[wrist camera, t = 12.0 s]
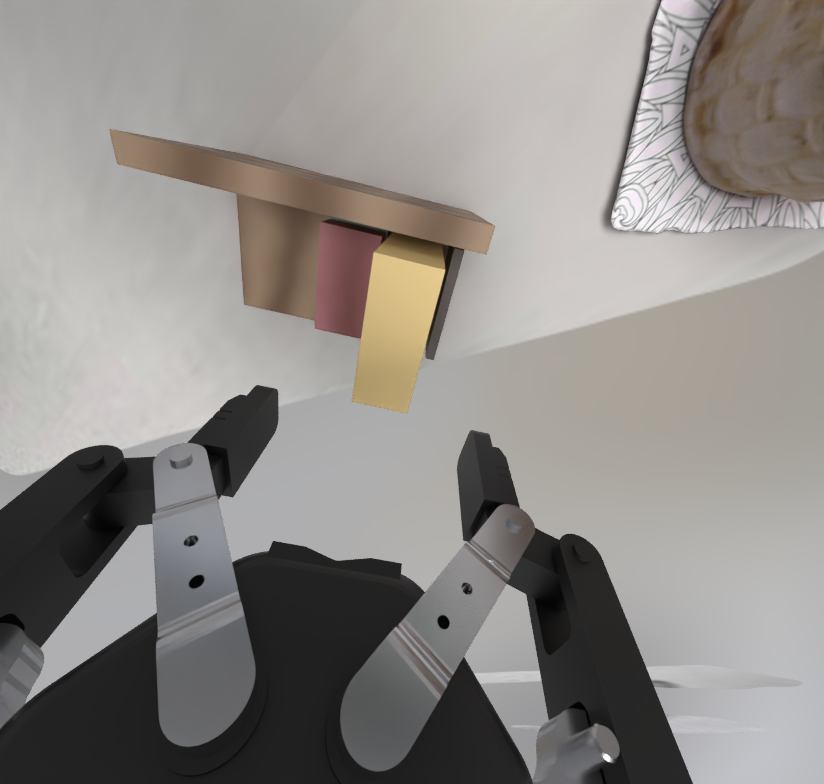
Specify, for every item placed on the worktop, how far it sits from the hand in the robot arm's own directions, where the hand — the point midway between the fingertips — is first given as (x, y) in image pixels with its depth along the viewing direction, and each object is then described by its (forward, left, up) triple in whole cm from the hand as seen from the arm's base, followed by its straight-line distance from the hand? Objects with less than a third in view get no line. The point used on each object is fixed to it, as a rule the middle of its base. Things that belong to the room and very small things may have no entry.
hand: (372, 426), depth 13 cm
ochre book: (0, 0, -24) cm, 24 cm away
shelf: (-7, +1, -26) cm, 26 cm away
